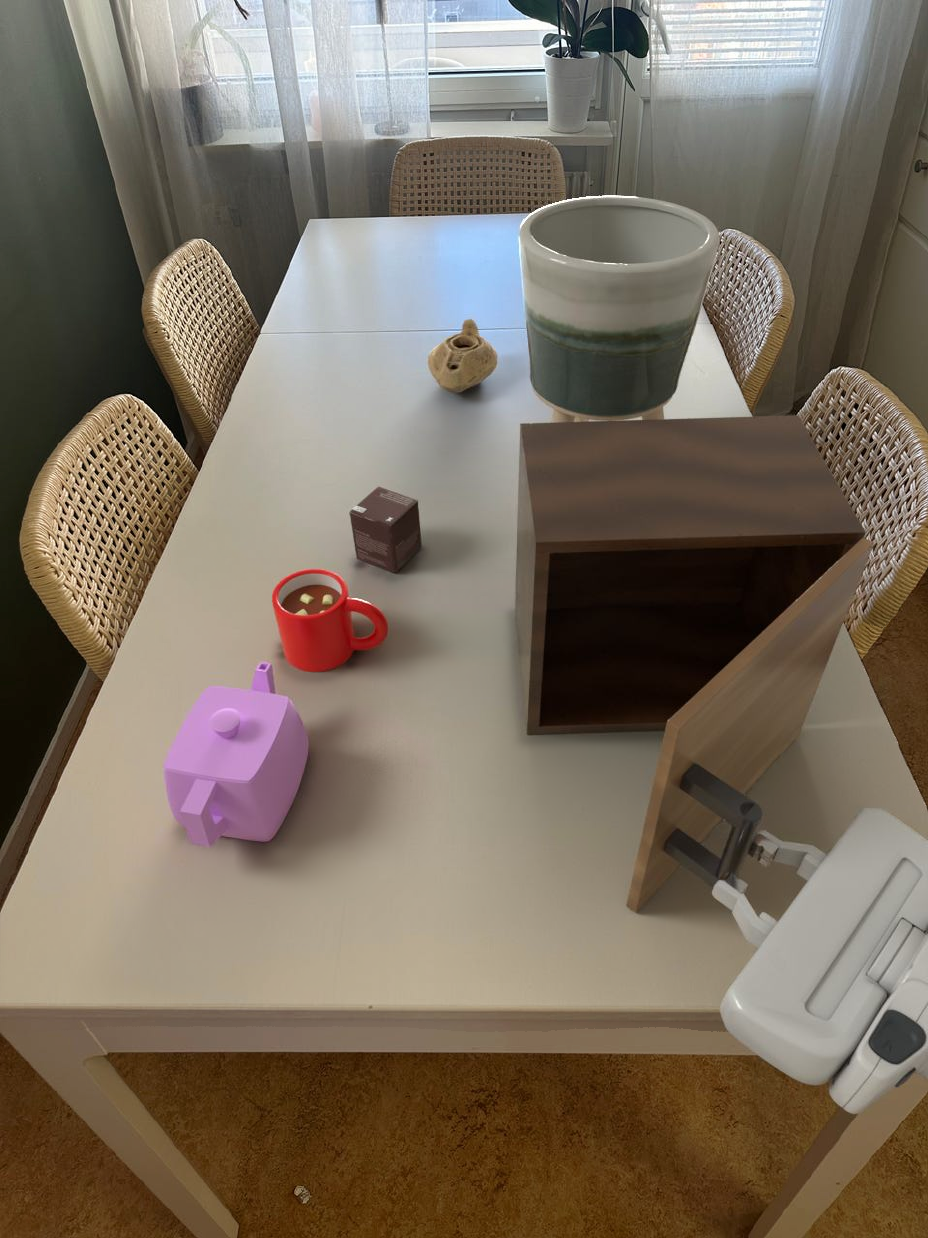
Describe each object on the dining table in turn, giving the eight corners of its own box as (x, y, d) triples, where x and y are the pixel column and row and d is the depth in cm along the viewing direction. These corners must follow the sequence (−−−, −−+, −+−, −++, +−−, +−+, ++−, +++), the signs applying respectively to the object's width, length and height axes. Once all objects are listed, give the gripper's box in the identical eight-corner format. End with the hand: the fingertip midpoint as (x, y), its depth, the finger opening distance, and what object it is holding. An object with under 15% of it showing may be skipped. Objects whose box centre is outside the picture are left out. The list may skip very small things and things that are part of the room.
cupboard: (792, 726, 86) (866, 532, 69) (526, 734, 86) (535, 542, 69) (745, 603, 99) (798, 414, 82) (514, 610, 99) (520, 423, 82)
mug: (384, 678, 92) (378, 624, 86) (275, 668, 93) (261, 615, 88) (398, 626, 97) (392, 573, 92) (294, 618, 99) (283, 565, 93)
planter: (708, 502, 113) (763, 243, 90) (564, 550, 107) (584, 283, 84) (617, 424, 127) (645, 183, 104) (485, 462, 121) (484, 214, 98)
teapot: (233, 705, 89) (211, 635, 82) (330, 720, 88) (316, 649, 81) (154, 858, 77) (121, 791, 70) (267, 878, 75) (244, 811, 68)
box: (423, 548, 107) (420, 499, 102) (395, 575, 104) (390, 526, 99) (383, 532, 110) (378, 484, 105) (354, 558, 106) (348, 510, 101)
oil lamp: (426, 407, 132) (423, 359, 126) (430, 361, 143) (427, 314, 137) (498, 407, 132) (498, 358, 126) (496, 360, 143) (497, 313, 137)
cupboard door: (854, 768, 82) (948, 575, 65) (694, 961, 69) (759, 782, 52) (790, 728, 86) (863, 536, 69) (625, 906, 72) (666, 721, 56)
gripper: (1007, 861, 58) (817, 749, 65) (870, 1101, 48) (661, 937, 55) (971, 907, 63) (796, 797, 70) (838, 1136, 52) (648, 980, 59)
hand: (735, 860), depth 62 cm, fingers open, 3 cm apart
